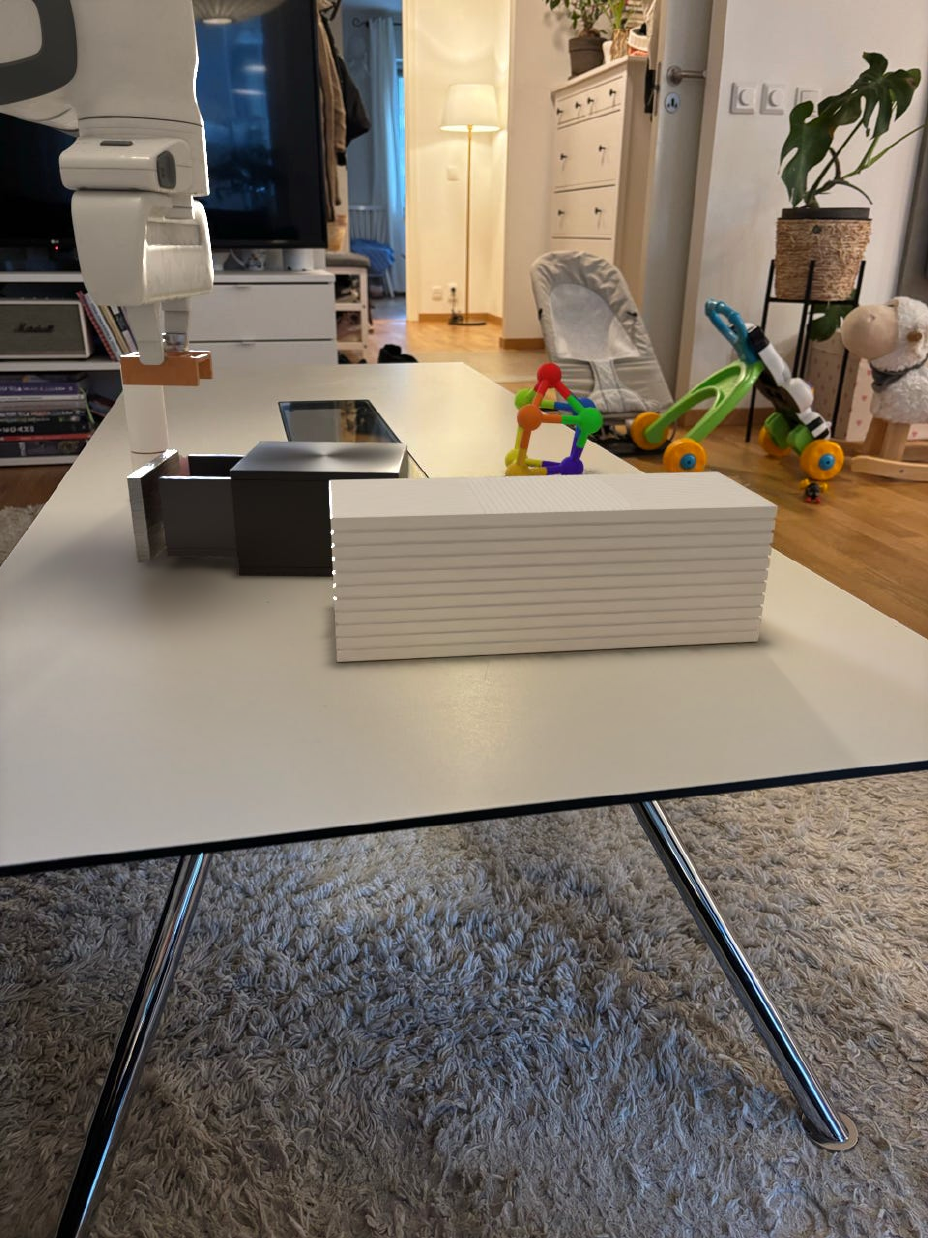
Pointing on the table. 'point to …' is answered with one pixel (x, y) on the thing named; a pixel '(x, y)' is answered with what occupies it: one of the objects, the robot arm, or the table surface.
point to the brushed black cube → (298, 500)
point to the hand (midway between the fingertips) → (166, 359)
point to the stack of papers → (545, 563)
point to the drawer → (183, 507)
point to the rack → (168, 369)
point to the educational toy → (532, 418)
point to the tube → (145, 422)
